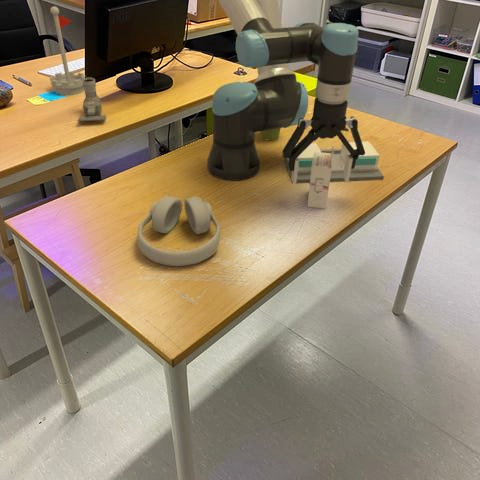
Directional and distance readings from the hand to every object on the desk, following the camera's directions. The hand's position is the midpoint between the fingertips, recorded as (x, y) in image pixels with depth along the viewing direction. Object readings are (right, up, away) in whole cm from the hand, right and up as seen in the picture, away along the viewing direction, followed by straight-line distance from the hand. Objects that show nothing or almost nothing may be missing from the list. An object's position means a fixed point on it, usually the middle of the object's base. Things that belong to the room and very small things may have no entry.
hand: (319, 180), depth 119 cm
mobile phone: (+12, +25, +44) cm, 52 cm away
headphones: (-34, -16, -12) cm, 39 cm away
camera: (-71, +27, +44) cm, 88 cm away
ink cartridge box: (0, -5, +4) cm, 6 cm away
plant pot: (-11, +18, +34) cm, 40 cm away
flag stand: (-87, +43, +64) cm, 116 cm away
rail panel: (+6, +6, +18) cm, 20 cm away
